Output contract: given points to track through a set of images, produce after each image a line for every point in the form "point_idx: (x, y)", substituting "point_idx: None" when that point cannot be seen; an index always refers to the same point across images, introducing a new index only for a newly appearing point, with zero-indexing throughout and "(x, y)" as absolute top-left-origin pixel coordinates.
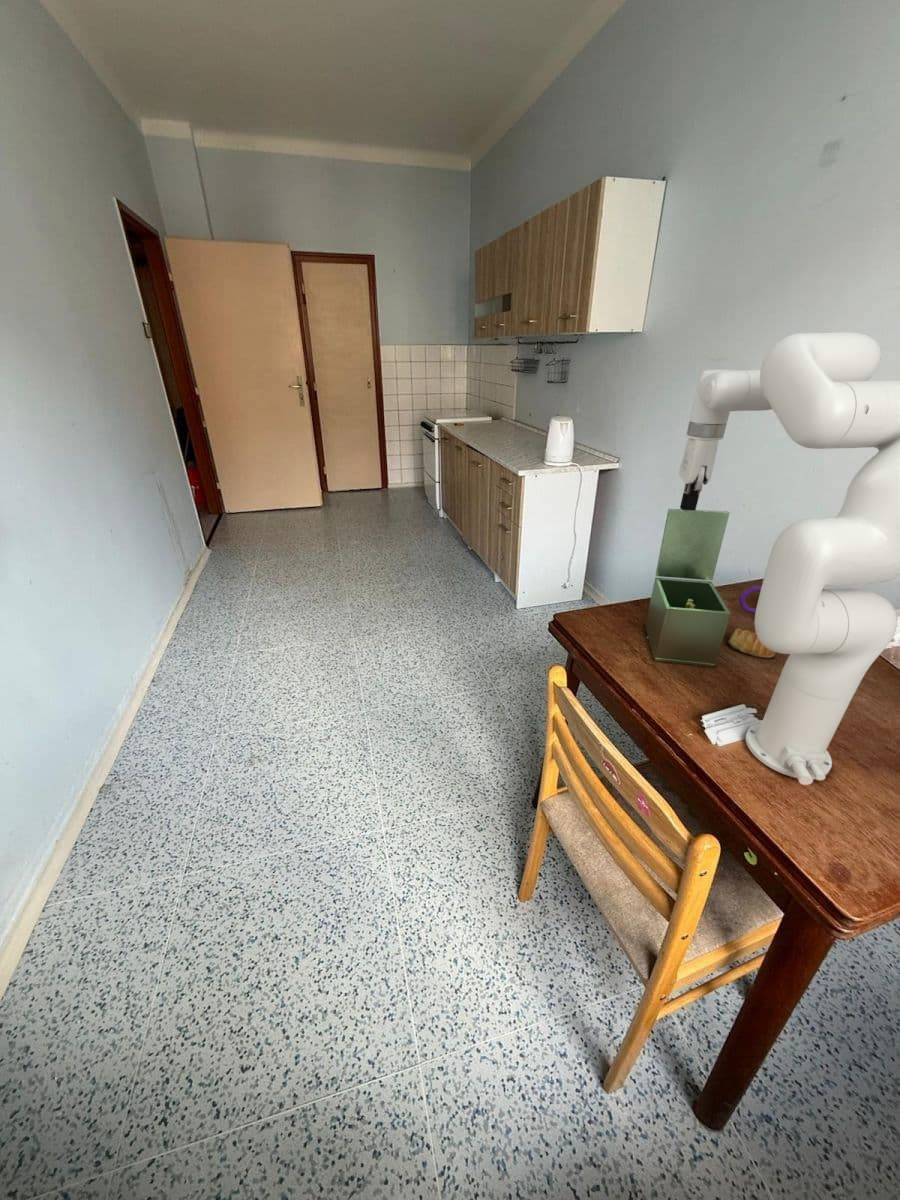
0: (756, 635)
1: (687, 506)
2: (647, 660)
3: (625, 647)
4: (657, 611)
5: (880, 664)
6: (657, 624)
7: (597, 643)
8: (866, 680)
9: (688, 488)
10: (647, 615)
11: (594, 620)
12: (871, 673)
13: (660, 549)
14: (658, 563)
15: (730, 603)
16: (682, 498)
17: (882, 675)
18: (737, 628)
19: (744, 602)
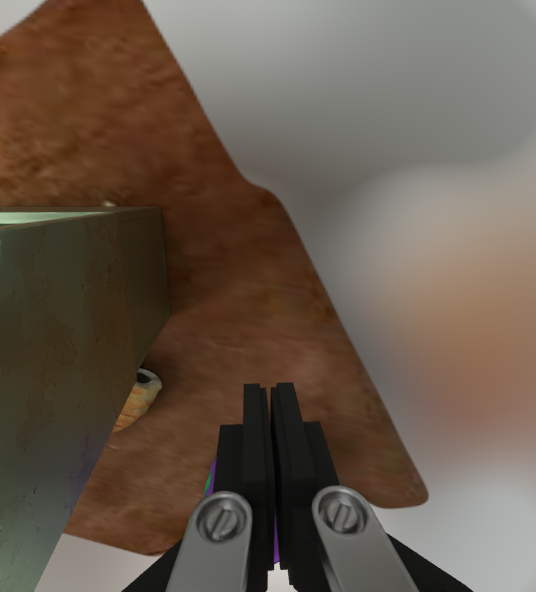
0: (122, 413)
1: (221, 434)
2: (5, 191)
3: (43, 145)
4: (18, 209)
5: (140, 545)
6: (4, 208)
7: (35, 72)
8: (85, 517)
9: (167, 586)
10: (151, 207)
11: (154, 73)
12: (108, 528)
13: (68, 218)
14: (83, 215)
15: (308, 398)
16: (288, 434)
17: (108, 538)
18: (137, 387)
19: None
